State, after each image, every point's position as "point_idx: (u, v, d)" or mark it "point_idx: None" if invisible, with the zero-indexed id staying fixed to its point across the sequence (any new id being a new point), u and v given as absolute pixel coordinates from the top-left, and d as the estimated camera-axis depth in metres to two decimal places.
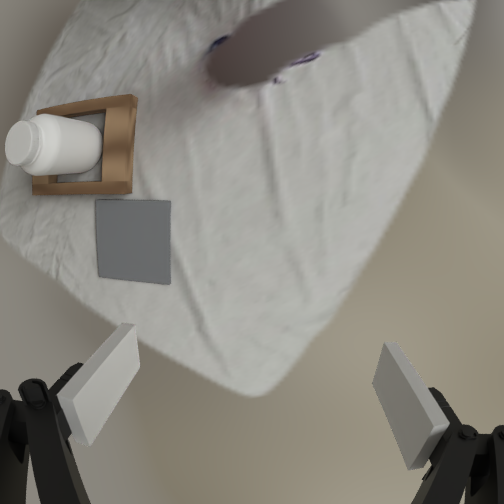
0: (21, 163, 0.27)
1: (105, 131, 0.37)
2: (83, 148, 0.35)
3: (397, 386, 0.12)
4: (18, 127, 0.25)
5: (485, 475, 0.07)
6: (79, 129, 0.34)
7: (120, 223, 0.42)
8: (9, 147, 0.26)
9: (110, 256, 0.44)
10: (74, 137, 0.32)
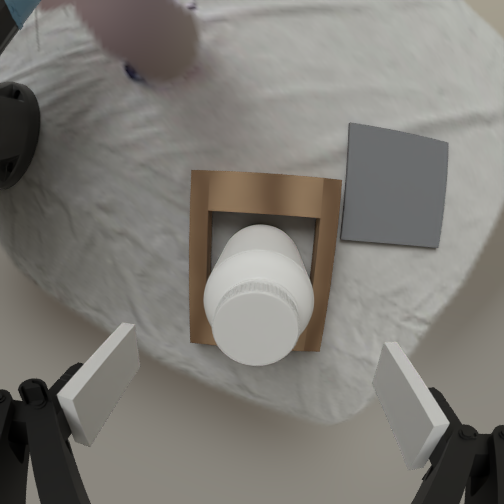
0: (298, 321, 0.18)
1: (244, 210, 0.29)
2: (270, 235, 0.26)
3: (397, 386, 0.12)
4: (224, 329, 0.18)
5: (485, 475, 0.07)
6: (238, 240, 0.26)
7: (376, 199, 0.30)
8: (259, 353, 0.18)
9: (416, 224, 0.30)
10: (254, 240, 0.24)
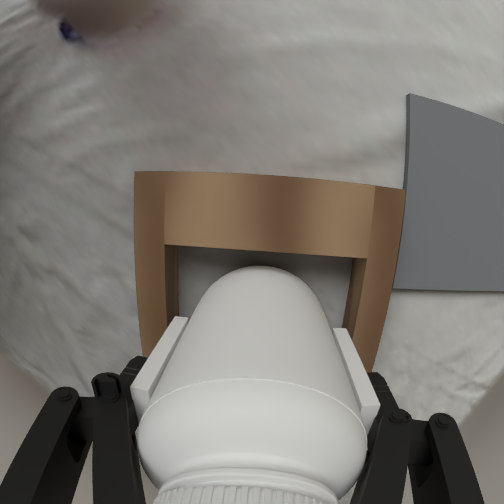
0: None
1: (229, 244, 0.16)
2: (277, 302, 0.13)
3: None
4: None
5: (429, 463, 0.08)
6: (212, 315, 0.12)
7: (448, 223, 0.17)
8: None
9: (496, 259, 0.17)
10: (242, 326, 0.11)
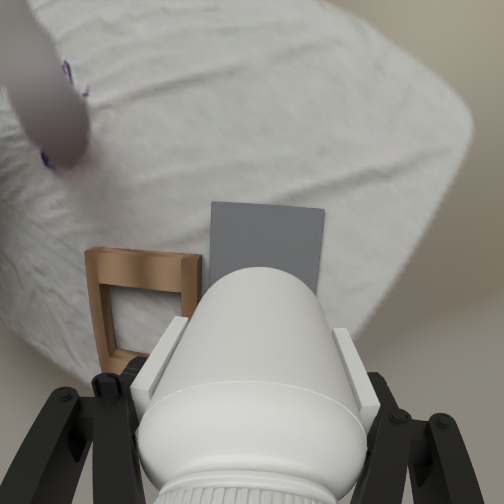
0: None
1: (123, 284, 0.34)
2: (277, 304, 0.13)
3: None
4: None
5: (429, 463, 0.08)
6: (212, 317, 0.12)
7: None
8: None
9: None
10: (242, 328, 0.11)
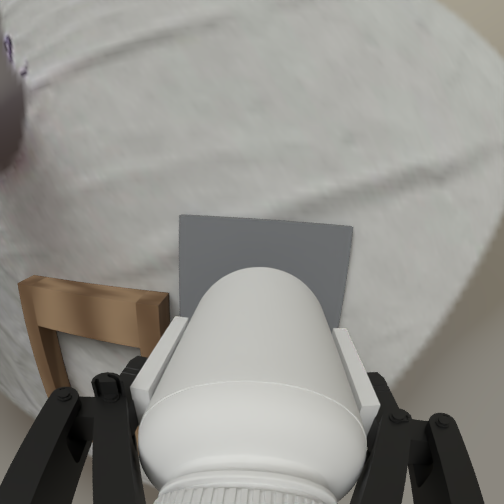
0: None
1: (65, 330, 0.22)
2: (277, 304, 0.13)
3: None
4: None
5: (429, 463, 0.08)
6: (213, 317, 0.12)
7: None
8: None
9: None
10: (242, 328, 0.11)
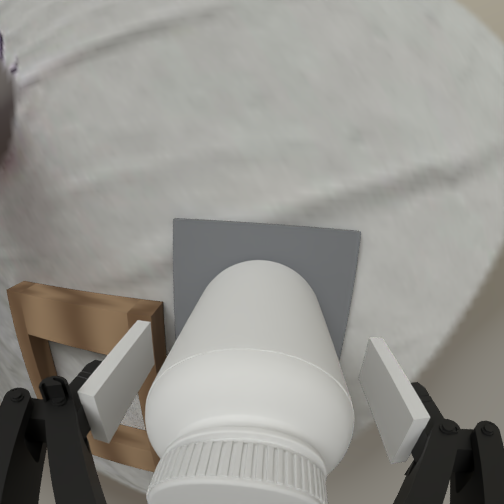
0: None
1: (55, 340, 0.20)
2: (273, 290, 0.14)
3: (380, 380, 0.13)
4: None
5: (470, 470, 0.07)
6: (215, 301, 0.14)
7: None
8: None
9: None
10: (241, 308, 0.12)
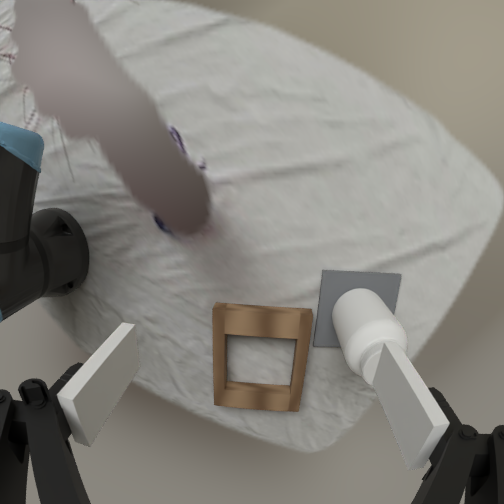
0: None
1: (248, 334, 0.44)
2: (375, 302, 0.37)
3: (397, 386, 0.12)
4: (370, 369, 0.29)
5: (485, 475, 0.07)
6: (358, 307, 0.37)
7: None
8: None
9: None
10: (371, 309, 0.35)
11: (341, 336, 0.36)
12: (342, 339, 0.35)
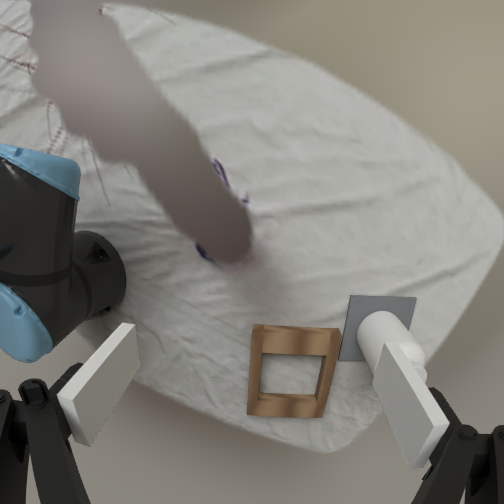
0: None
1: (283, 352, 0.47)
2: (397, 325, 0.42)
3: (397, 386, 0.12)
4: None
5: (485, 475, 0.07)
6: (383, 330, 0.41)
7: None
8: None
9: None
10: (395, 332, 0.39)
11: (369, 355, 0.40)
12: (371, 358, 0.40)
